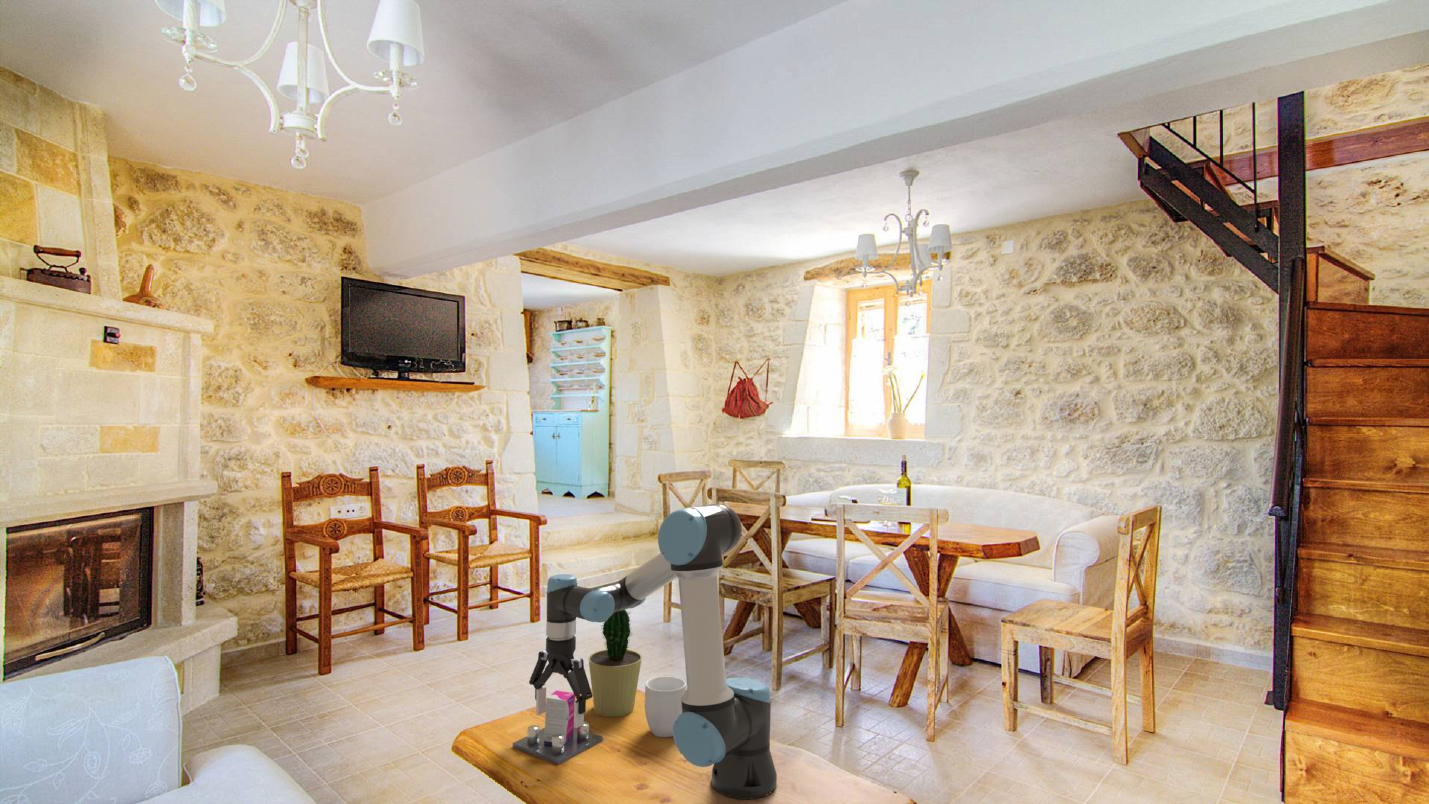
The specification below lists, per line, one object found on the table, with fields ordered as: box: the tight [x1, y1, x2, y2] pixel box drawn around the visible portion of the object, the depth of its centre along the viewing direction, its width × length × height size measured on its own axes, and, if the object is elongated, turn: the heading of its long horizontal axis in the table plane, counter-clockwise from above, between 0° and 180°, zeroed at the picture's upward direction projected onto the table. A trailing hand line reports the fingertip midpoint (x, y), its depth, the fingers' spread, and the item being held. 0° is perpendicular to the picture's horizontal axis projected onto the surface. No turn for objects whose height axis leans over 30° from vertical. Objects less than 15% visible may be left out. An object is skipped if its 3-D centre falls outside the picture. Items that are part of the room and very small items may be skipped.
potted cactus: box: [587, 609, 643, 718], centre depth 203 cm, size 15×15×30 cm
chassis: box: [512, 721, 604, 766], centre depth 181 cm, size 16×16×4 cm
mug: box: [644, 675, 687, 739], centre depth 189 cm, size 15×11×13 cm
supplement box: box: [544, 690, 576, 745], centre depth 181 cm, size 6×6×12 cm
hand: (559, 719), depth 180 cm, fingers open, 13 cm apart
